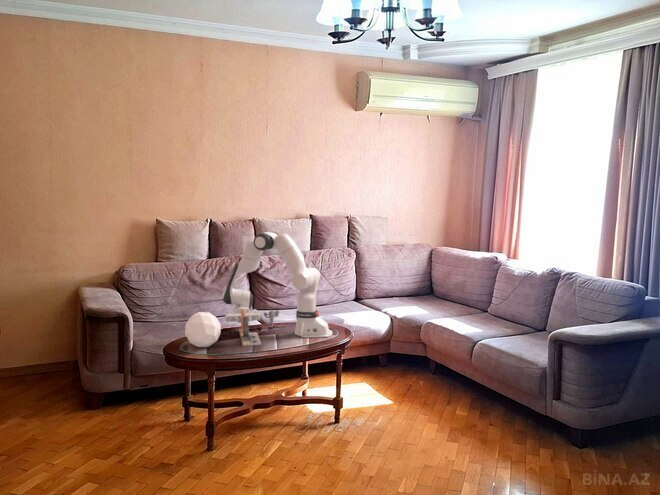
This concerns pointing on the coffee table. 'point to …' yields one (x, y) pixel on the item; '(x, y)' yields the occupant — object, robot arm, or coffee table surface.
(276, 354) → the coffee table surface
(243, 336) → the dividers beam
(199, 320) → the geometric polyhedron
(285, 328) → the coffee table surface
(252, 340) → the bolt hole strip
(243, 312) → the post
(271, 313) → the mechanical component
